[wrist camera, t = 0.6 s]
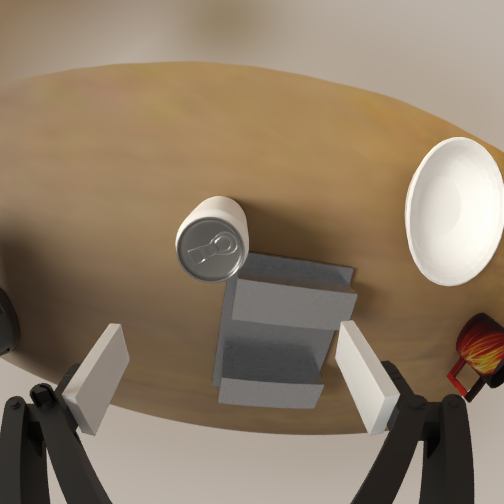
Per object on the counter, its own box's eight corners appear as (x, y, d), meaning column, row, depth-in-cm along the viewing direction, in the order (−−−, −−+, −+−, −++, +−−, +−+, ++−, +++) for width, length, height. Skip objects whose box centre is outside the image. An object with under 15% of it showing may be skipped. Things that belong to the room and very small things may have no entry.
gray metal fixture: (212, 382, 42) (209, 408, 37) (231, 248, 36) (230, 264, 31) (310, 390, 44) (317, 414, 38) (351, 266, 38) (369, 283, 32)
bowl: (470, 131, 32) (497, 131, 26) (482, 249, 38) (506, 261, 32) (368, 149, 33) (392, 148, 27) (391, 288, 39) (413, 307, 33)
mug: (442, 374, 46) (471, 411, 34) (464, 315, 42) (503, 349, 30) (472, 365, 46) (501, 396, 35) (493, 310, 42) (530, 338, 31)
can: (254, 234, 36) (262, 269, 24) (207, 256, 36) (193, 298, 25) (232, 186, 34) (229, 197, 22) (183, 209, 34) (157, 232, 23)
